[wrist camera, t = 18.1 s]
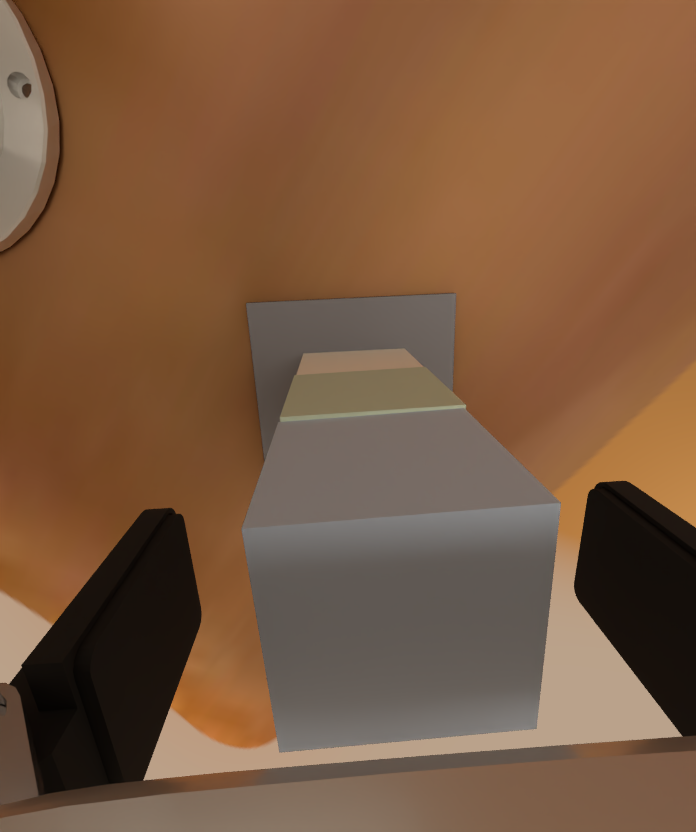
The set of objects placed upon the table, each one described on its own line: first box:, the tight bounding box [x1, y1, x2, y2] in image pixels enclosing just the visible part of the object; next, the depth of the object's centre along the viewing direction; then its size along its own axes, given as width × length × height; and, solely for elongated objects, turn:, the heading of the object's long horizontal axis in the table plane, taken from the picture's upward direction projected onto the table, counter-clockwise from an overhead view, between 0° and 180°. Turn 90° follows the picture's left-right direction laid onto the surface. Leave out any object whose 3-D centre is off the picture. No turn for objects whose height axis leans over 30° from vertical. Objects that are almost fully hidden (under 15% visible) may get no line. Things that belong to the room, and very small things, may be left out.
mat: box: [246, 293, 456, 462], centre depth 22 cm, size 10×10×1 cm
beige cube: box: [296, 348, 423, 375], centre depth 19 cm, size 5×5×5 cm
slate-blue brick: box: [242, 408, 561, 752], centre depth 10 cm, size 5×5×5 cm
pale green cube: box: [280, 367, 466, 422], centre depth 14 cm, size 5×5×5 cm
